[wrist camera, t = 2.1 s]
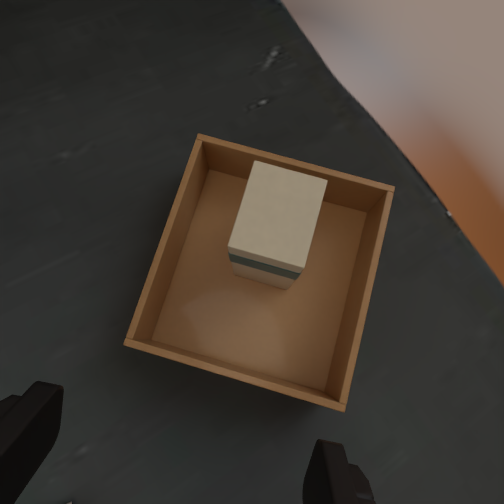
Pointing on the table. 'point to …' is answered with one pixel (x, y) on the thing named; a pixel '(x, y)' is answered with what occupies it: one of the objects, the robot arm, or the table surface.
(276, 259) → the carton
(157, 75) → the table surface
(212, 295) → the box
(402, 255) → the table surface
